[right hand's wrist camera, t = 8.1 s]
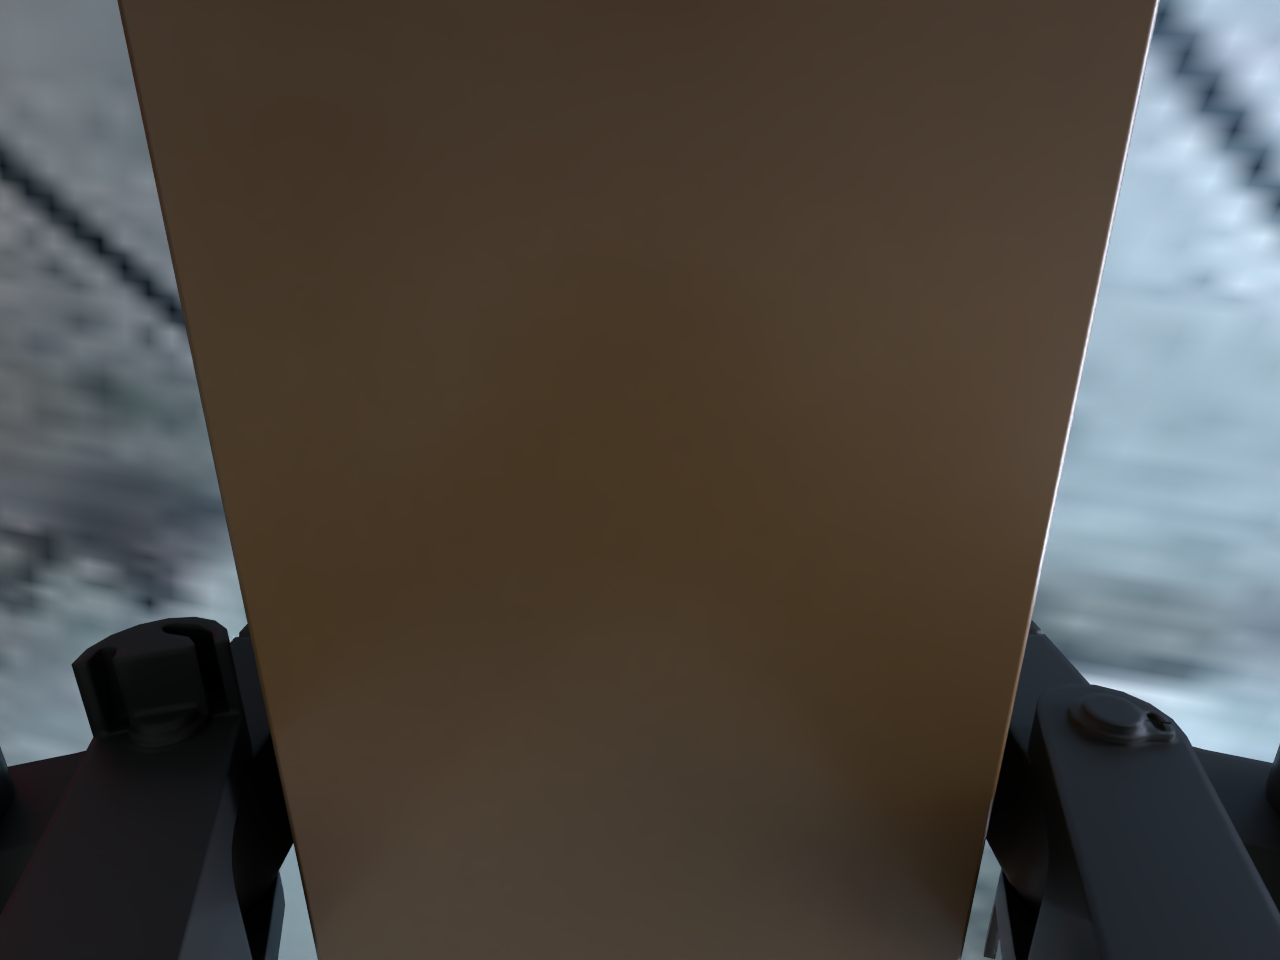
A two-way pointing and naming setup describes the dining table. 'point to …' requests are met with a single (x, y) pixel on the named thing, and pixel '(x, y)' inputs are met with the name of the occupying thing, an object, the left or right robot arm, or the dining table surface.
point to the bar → (638, 442)
